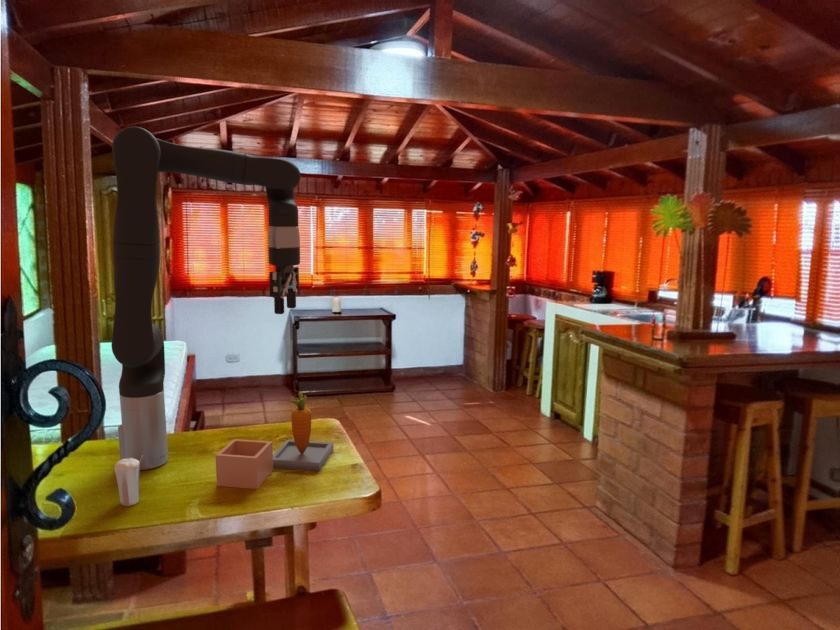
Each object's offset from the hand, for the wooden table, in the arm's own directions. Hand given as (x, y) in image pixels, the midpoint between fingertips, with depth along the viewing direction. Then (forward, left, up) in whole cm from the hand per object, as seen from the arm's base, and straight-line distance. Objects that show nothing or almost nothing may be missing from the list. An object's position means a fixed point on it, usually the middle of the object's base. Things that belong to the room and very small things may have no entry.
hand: (285, 310), depth 145 cm
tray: (+7, -10, -34) cm, 36 cm away
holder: (-2, -22, -34) cm, 41 cm away
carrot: (+7, -10, -33) cm, 35 cm away
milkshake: (-20, -36, -34) cm, 54 cm away
